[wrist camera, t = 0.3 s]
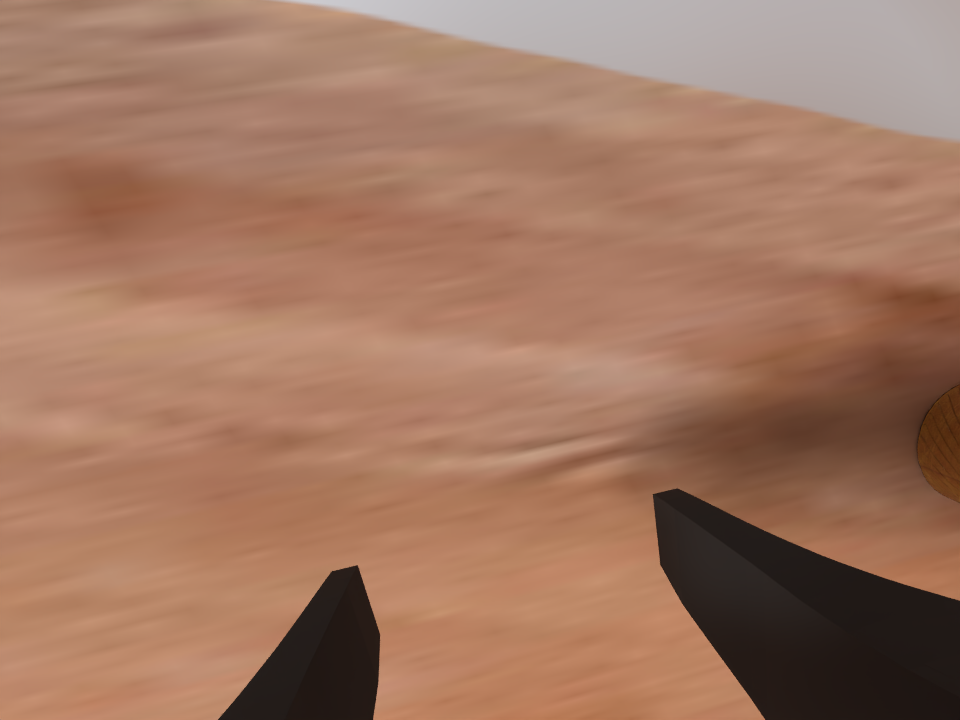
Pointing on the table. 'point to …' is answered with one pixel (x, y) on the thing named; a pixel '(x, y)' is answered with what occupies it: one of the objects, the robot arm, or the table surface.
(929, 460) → the disposable coffee cup
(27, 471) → the table surface
